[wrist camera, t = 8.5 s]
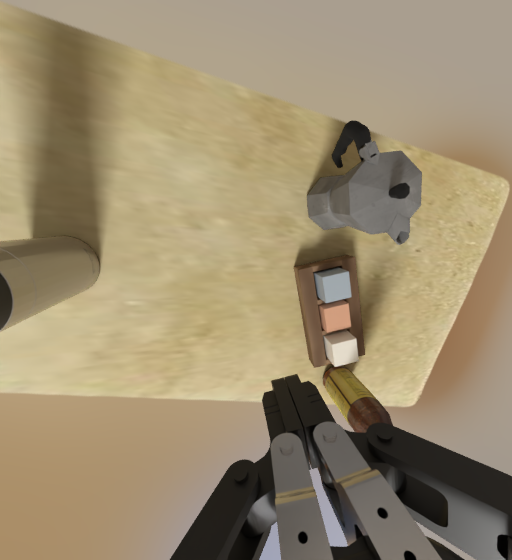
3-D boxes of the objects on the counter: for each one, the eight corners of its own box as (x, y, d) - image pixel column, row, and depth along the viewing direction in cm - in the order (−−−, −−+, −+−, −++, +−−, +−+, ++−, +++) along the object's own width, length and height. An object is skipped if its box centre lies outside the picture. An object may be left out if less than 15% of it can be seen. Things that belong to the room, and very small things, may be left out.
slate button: (317, 296, 44) (325, 303, 40) (313, 272, 43) (322, 277, 39) (340, 290, 45) (351, 297, 41) (337, 266, 43) (348, 271, 40)
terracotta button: (318, 323, 47) (327, 332, 43) (315, 302, 46) (323, 309, 42) (340, 318, 47) (351, 326, 44) (338, 296, 46) (348, 303, 42)
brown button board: (309, 359, 49) (314, 367, 46) (293, 266, 45) (298, 270, 42) (357, 347, 50) (365, 354, 47) (346, 254, 45) (355, 257, 42)
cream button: (325, 355, 47) (334, 367, 43) (322, 334, 46) (331, 344, 42) (347, 349, 48) (358, 360, 44) (345, 328, 46) (356, 338, 43)
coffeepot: (369, 223, 44) (462, 224, 27) (324, 250, 45) (387, 268, 27) (333, 139, 41) (415, 77, 23) (283, 169, 41) (328, 129, 23)
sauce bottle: (336, 395, 52) (402, 497, 33) (315, 380, 51) (370, 478, 31) (357, 372, 51) (436, 462, 32) (336, 356, 50) (406, 441, 31)
